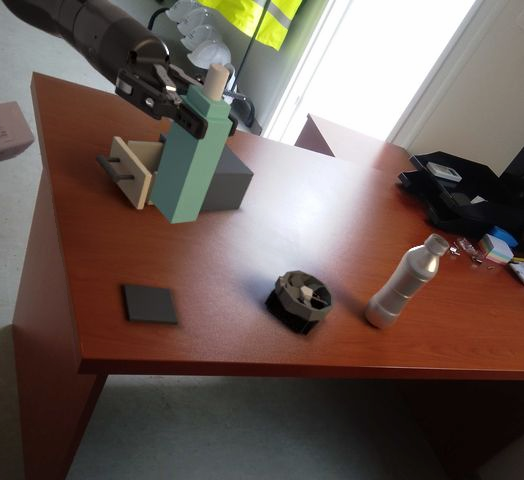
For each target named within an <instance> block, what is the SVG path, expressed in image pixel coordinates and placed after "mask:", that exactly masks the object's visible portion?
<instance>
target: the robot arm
mask: <svg viewBox="0 0 524 480" xmlns="http://www.w3.org/2000/svg"><path fill="white" fill-rule="evenodd" d="M0 1H1V2H2V4H3V5H4V6H5V8H6V9H7V10H8V11H9V12H10V13H11V14H12V15H13V16H14V17H16V18H17V19H19V20H20V21H22V22H23V23H25V24H27V25H28V26H30V27H33V28H35V29H37V30H38V31H41V32H43V33H46V34H48V35H50V36H52V37H55V38H58V39H61V40H63V41H64V42H66V44H68V45H69V46H70V47H72V48H73V49H74V50H75V51H76V52H78V53H79V54H80V55H81V56H82V57H83V58H84V59H85V61H87V63H88V64H89V65H90V66H91V67H92V68H93V69H94V70H95V71H96V72H98V73H99V74H100V75H101V76H102V77H104V78H105V79H106V80H107V81H108V82H109V83H111V84H112V85H113V86H114V87H115V88H114V93H115V95H116V96H118V97H120V99H123V100H124V101H126V102H127V103H129V104H131V106H133V107H135V108H137V109H138V110H140V111H141V112H143V113H144V114H146V115H147V116H148V117H150V118H152V119H154V120H155V121H162V118H165V119H166V120H167V122H169V123H170V124H171V123H176V122H177V124H179V125H180V126H181V127H182V128H183V129H184V130H186V131H187V132H188V133H189V134H190V135H192V136H193V137H194V138H195V139H197V140H202V139H204V137H205V134H206V132H207V129H208V121H207V120H206V119H205V118H203V117H202V116H201V115H200V114H198V113H197V112H196V111H195V110H194V109H192V108H191V107H190V106H189V105H188V104H182V102H183V101H182V99H181V98H180V97H179V95H185V96H187V93H188V90H189V86H190V85H195V86H202V87H203V85H204V82H205V79H206V76H204V75H203V74H202V73H197V72H196V73H195V74H194V78H192V77H191V76H189V75H187V74H185V71H184V70H183V69H182V68H180V67H179V66H176V65H175V64H172V62H171V58H170V54H169V50H168V47H167V45H166V43H165V42H164V41H163V40H162V39H161V38H160V37H159V36H158V35H156V34H155V33H154V32H152V30H150V29H149V28H147V27H146V26H145V25H144V24H142V23H141V22H140V21H139V20H138V19H136V18H135V17H133V16H132V15H131V14H130V13H129V12H127V11H126V10H125V9H123V8H122V7H120V6H118V5H117V4H114V3H113V2H111V0H0ZM221 98H222V99H223V100H225V96H223V95H222V96H221ZM148 103H149V104H148ZM228 119H229V120H230V121H231V122H232V123H233V124H232V127H231V129H230V132H229V134H228V137H227V138H231V137H232V138H233V137H234V136H235V133H236V132H237V128H238V126H239V120H238V119H237V117H235V116H234V115H233V114H231V112H229V115H228Z"/></svg>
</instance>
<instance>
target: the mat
mask: <svg viewBox="0 0 524 480" xmlns="http://www.w3.org/2000/svg"><path fill="white" fill-rule="evenodd" d="M123 292H124V298H125V304H126V310H127V317H128V322H132V323H134V322H135V323H146V324H159V325H161V324H162V325H178V323H179V322H178V316H177V313H176V312H177V311H176V309H175V305H174V300H173V297H172V292H171V289H170V288H163V287H155V286H154V287H153V286H145V285H135V284H125V283H124V285H123Z"/></svg>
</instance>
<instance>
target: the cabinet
mask: <svg viewBox="0 0 524 480" xmlns="http://www.w3.org/2000/svg"><path fill="white" fill-rule="evenodd" d="M167 137H168V133H163V132H161V133H159V137H158V140H157V142H160V143H166V140H167ZM254 175H255V173H254V172H253V171H252V169H251V168H249V166H248V165H247V164H246V163H244V161H243V160H242V159H241V158H240V157H239V156H238V155H237V154H236V153H235V152H234V151H233V150H232V149H231V148H230V147H229V146H228V145H227V144H226V143H225V145H224V148H223V150H222V153H221V156H220V158H219V161H218V163H217V166H216V169H215V171H214V174H213V177H212V179H211V182H210V184H209V187H208V190H207V192H206V195H205V198H204V200H203V203H202V205H201V208H200V211H199V213H203V212H219V211H221V212H222V211H234V210H239V209H240V207H241V204H242V202H243V200H244V198H245V196H246V193H247V191H248V189H249V188H250V187H249V186H250V185H251V182H252V180H253V177H254Z"/></svg>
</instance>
